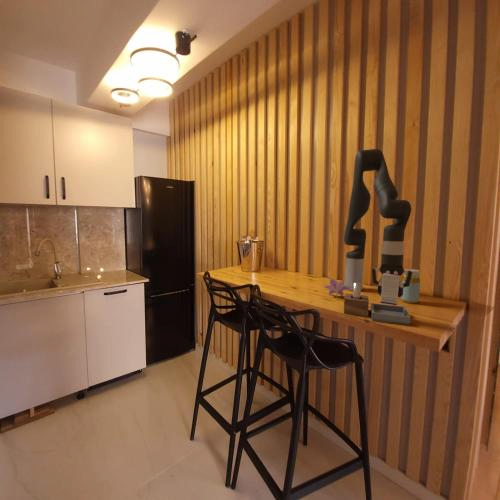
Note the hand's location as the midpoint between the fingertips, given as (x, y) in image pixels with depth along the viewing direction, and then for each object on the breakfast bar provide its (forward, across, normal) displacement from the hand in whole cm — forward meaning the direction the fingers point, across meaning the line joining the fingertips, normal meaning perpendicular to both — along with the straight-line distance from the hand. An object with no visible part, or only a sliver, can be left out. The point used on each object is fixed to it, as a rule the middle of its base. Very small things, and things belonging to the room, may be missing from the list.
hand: (389, 295), depth 106 cm
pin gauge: (+9, -12, +2) cm, 15 cm away
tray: (+9, 0, 0) cm, 9 cm away
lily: (+9, -21, +21) cm, 31 cm away
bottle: (+9, +11, +27) cm, 30 cm away
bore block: (+9, -12, +2) cm, 15 cm away
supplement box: (+3, 0, 0) cm, 3 cm away
